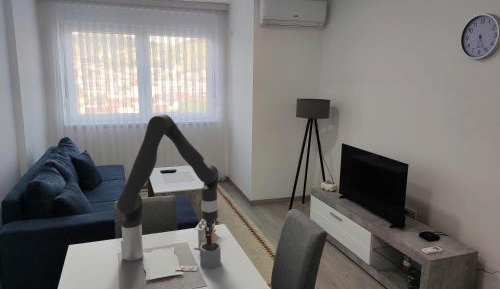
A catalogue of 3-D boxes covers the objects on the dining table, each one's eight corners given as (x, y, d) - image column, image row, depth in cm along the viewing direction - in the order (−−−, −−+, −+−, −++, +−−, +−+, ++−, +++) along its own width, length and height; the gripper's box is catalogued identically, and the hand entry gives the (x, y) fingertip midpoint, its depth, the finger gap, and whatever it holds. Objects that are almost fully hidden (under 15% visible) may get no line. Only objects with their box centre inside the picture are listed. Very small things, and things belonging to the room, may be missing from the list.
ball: (203, 246, 163) (202, 234, 161) (205, 240, 168) (204, 228, 167) (215, 246, 162) (215, 234, 161) (217, 240, 168) (217, 229, 167)
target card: (175, 270, 161) (175, 269, 161) (177, 266, 165) (177, 265, 165) (196, 271, 161) (196, 270, 161) (198, 266, 165) (198, 265, 164)
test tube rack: (202, 249, 181) (201, 226, 179) (194, 249, 182) (193, 225, 179) (215, 229, 205) (215, 208, 203) (208, 229, 206) (208, 208, 204)
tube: (199, 268, 163) (199, 250, 161) (202, 258, 172) (202, 241, 170) (219, 269, 163) (218, 251, 161) (221, 259, 172) (221, 242, 170)
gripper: (204, 202, 169) (204, 235, 172) (198, 214, 155) (199, 248, 158) (219, 203, 169) (220, 235, 172) (215, 214, 155) (216, 249, 158)
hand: (210, 241), depth 165 cm, fingers closed on ball, 6 cm apart
